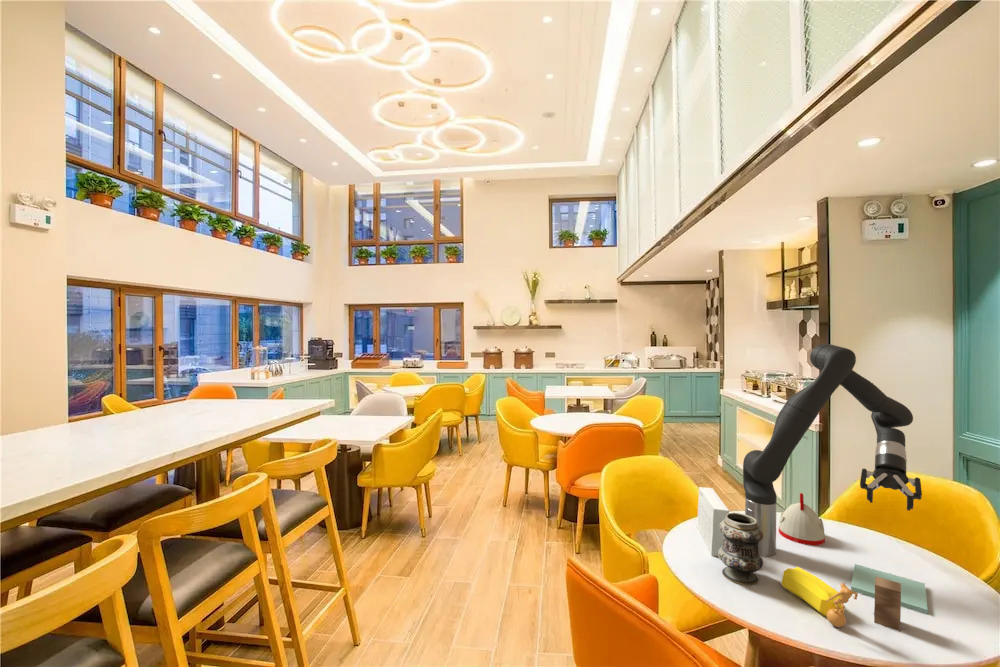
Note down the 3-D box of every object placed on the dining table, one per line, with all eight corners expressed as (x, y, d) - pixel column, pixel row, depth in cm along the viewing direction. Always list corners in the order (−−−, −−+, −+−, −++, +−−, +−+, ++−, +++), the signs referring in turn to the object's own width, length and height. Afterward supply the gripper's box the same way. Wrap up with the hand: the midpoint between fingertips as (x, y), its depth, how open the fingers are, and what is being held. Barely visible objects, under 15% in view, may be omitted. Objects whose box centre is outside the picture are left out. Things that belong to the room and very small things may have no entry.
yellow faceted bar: (795, 581, 134) (773, 584, 133) (795, 559, 134) (773, 562, 133) (854, 620, 117) (829, 624, 115) (854, 594, 117) (830, 598, 115)
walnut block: (874, 622, 115) (874, 584, 115) (874, 613, 119) (875, 576, 119) (900, 631, 112) (901, 592, 112) (899, 621, 116) (900, 583, 116)
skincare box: (729, 558, 147) (729, 510, 147) (711, 556, 148) (711, 509, 148) (712, 529, 168) (712, 487, 167) (696, 527, 169) (697, 486, 169)
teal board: (851, 590, 129) (851, 586, 129) (854, 567, 141) (854, 563, 141) (927, 614, 119) (927, 609, 119) (924, 587, 131) (924, 583, 131)
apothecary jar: (767, 575, 137) (768, 517, 137) (756, 593, 128) (757, 530, 128) (724, 561, 145) (725, 506, 145) (712, 576, 136) (713, 518, 136)
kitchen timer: (823, 533, 164) (823, 492, 164) (826, 549, 153) (827, 505, 152) (778, 524, 172) (779, 485, 171) (778, 538, 160) (779, 497, 160)
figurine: (843, 618, 117) (844, 573, 117) (865, 634, 111) (866, 587, 111) (815, 621, 116) (815, 576, 116) (835, 637, 110) (836, 589, 110)
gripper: (861, 448, 146) (858, 493, 137) (921, 456, 136) (922, 505, 128) (862, 460, 150) (859, 505, 141) (920, 469, 140) (921, 518, 132)
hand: (889, 505), depth 135 cm, fingers open, 8 cm apart
